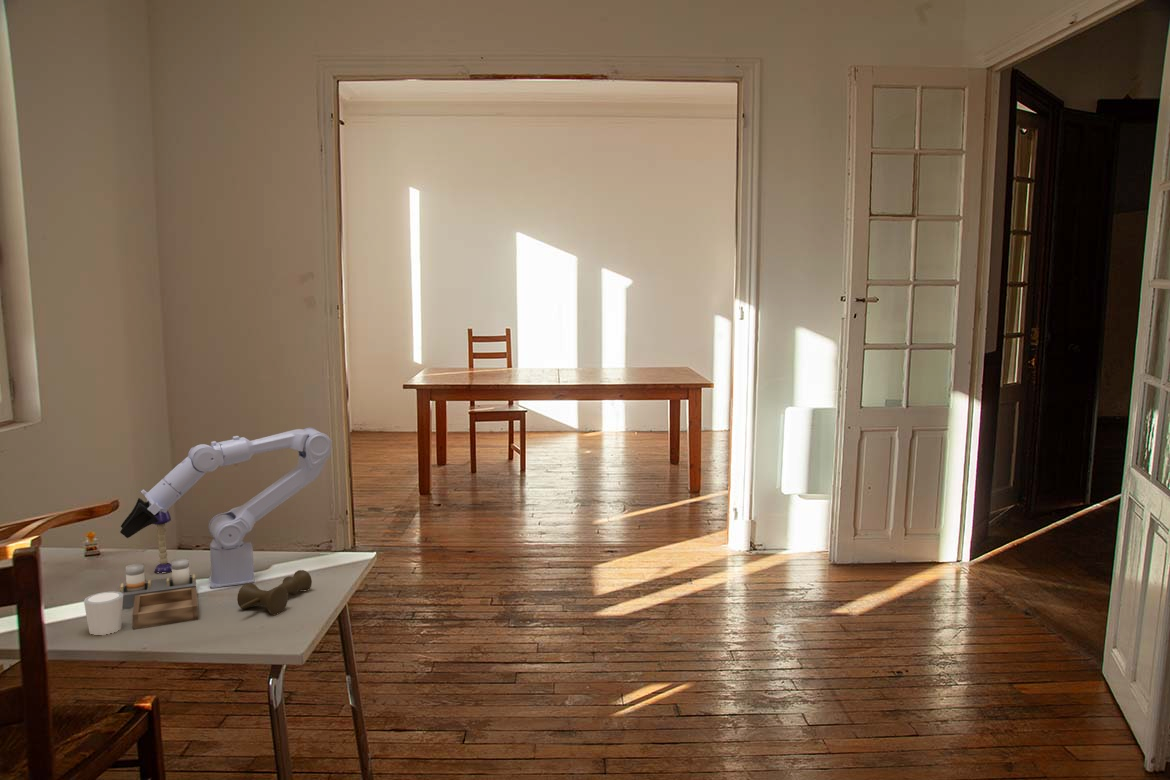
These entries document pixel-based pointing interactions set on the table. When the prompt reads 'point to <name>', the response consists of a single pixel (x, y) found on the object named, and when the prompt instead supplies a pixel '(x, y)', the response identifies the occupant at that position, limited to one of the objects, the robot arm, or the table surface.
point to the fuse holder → (153, 589)
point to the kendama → (273, 593)
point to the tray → (165, 607)
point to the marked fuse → (135, 577)
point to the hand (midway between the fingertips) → (123, 532)
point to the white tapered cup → (104, 612)
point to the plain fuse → (180, 572)
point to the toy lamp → (162, 542)
